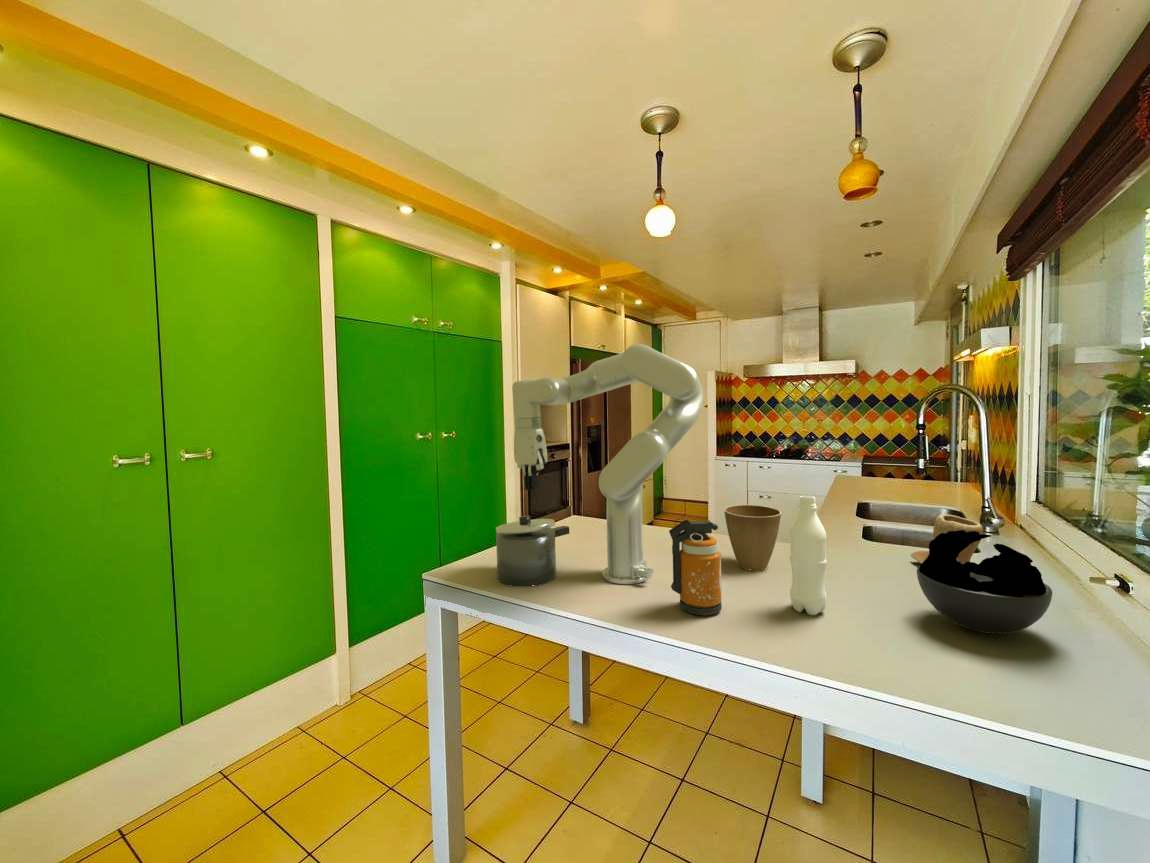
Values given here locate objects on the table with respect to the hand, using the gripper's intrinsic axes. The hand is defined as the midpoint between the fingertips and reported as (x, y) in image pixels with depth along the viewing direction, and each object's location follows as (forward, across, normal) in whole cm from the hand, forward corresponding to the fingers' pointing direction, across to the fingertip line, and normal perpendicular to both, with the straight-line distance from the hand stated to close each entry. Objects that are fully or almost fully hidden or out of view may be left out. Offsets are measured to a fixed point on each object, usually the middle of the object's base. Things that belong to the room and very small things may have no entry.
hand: (531, 489), depth 133 cm
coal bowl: (+26, -92, -38) cm, 103 cm away
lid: (+10, -2, +4) cm, 11 cm away
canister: (+25, -47, -8) cm, 54 cm away
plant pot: (+25, -43, -43) cm, 66 cm away
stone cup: (+26, -82, -73) cm, 113 cm away
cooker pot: (+23, -1, +1) cm, 23 cm away
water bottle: (+25, -65, -24) cm, 74 cm away
